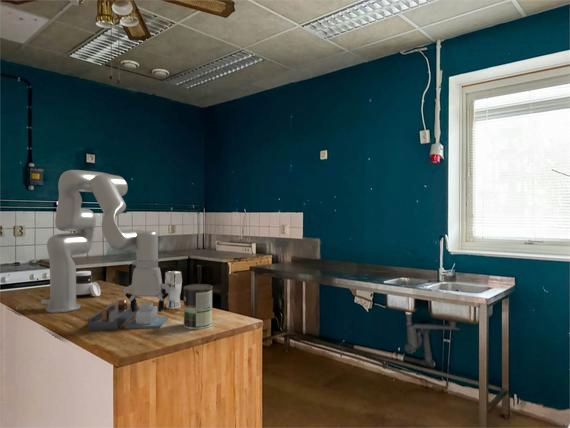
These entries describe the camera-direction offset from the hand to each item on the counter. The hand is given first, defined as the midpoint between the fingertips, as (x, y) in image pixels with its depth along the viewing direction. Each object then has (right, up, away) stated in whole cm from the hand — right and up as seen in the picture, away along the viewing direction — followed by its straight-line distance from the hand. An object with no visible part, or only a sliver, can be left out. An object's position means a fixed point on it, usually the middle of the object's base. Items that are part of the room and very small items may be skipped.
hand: (147, 310), depth 148 cm
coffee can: (+19, -5, -2) cm, 20 cm away
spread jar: (-44, -4, +45) cm, 63 cm away
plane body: (-13, -5, +2) cm, 14 cm away
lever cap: (0, -4, 0) cm, 4 cm away
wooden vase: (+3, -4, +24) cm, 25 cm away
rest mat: (0, -5, 0) cm, 5 cm away
